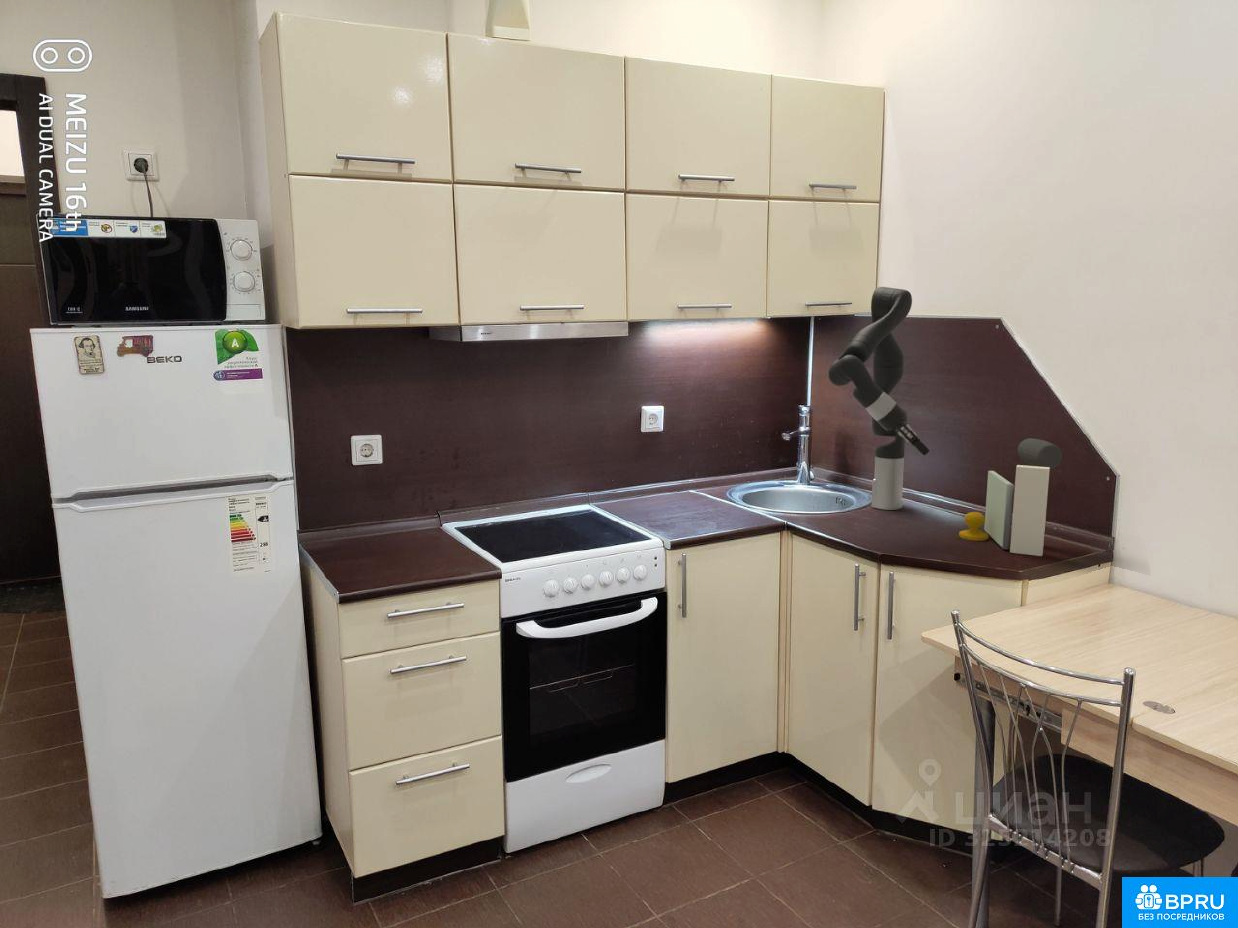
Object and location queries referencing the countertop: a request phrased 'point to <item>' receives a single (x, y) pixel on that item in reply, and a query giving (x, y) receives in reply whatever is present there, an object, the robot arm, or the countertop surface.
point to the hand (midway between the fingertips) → (926, 452)
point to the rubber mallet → (1039, 453)
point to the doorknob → (974, 527)
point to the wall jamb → (1029, 510)
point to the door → (999, 509)
